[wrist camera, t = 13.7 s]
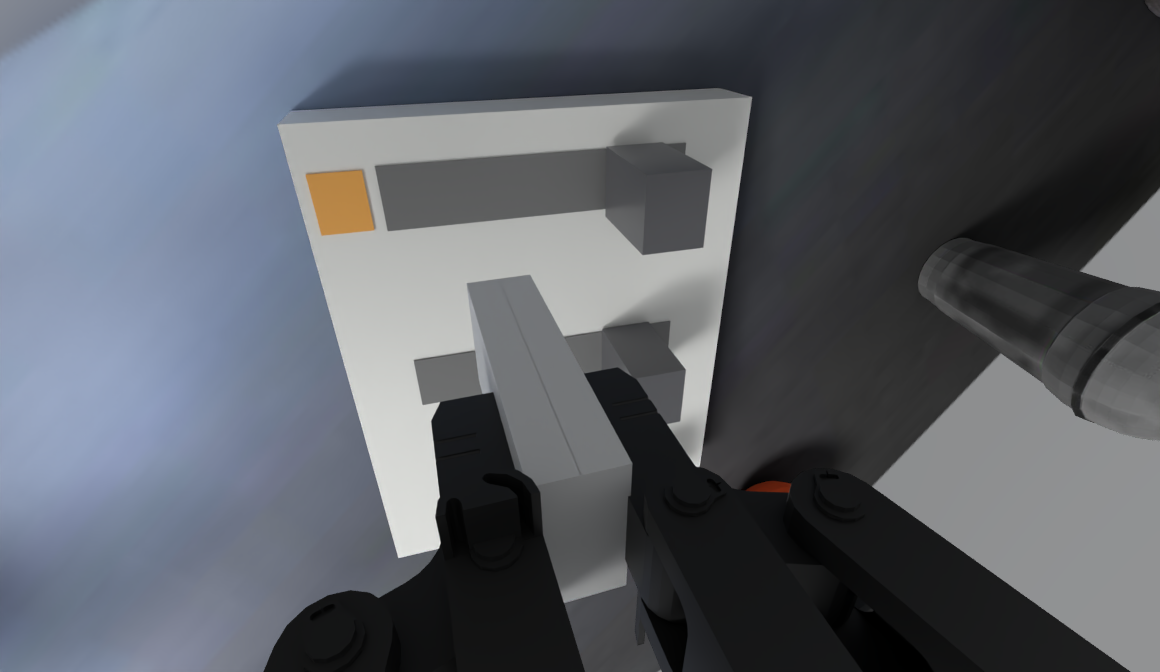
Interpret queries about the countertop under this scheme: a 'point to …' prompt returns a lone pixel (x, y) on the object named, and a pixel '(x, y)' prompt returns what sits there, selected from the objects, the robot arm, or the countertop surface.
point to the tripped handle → (657, 197)
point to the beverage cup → (1058, 329)
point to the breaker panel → (505, 255)
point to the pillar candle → (1153, 6)
